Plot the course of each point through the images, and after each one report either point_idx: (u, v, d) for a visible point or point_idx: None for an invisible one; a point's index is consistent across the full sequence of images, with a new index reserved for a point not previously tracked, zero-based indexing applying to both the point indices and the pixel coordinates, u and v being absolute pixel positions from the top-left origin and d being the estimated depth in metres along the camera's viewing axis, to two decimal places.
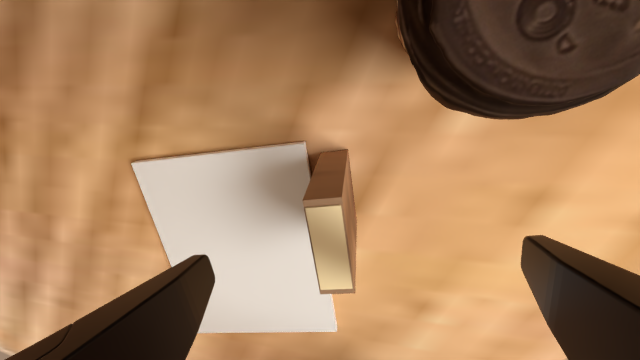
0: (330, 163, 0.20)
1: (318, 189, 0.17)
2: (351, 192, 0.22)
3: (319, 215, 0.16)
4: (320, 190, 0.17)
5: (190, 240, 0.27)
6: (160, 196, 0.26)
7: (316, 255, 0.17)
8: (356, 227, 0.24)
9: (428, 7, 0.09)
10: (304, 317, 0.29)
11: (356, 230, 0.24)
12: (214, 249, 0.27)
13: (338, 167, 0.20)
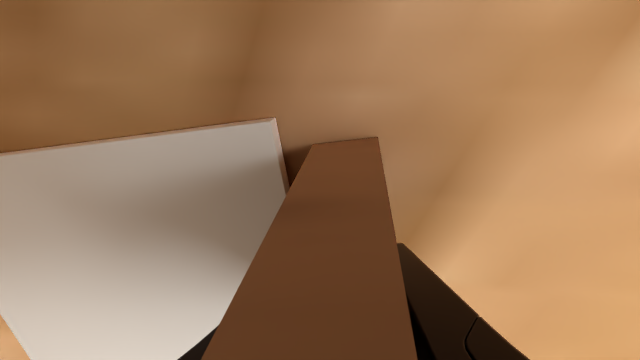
0: (337, 173, 0.07)
1: (284, 310, 0.03)
2: None
3: None
4: (294, 319, 0.03)
5: (55, 320, 0.14)
6: None
7: None
8: None
9: None
10: None
11: None
12: (103, 338, 0.14)
13: (362, 186, 0.06)
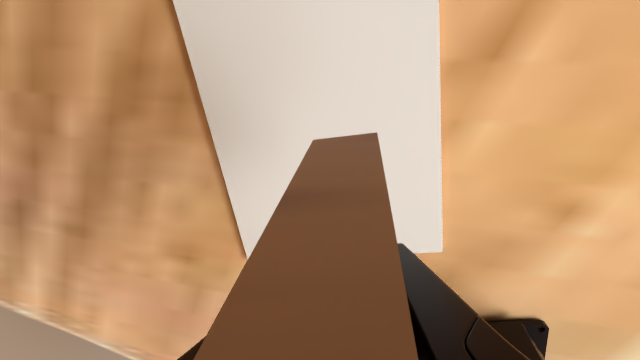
0: (337, 166, 0.07)
1: (286, 291, 0.04)
2: None
3: None
4: (296, 297, 0.03)
5: (248, 118, 0.19)
6: (210, 46, 0.18)
7: None
8: None
9: None
10: (399, 231, 0.21)
11: None
12: (281, 130, 0.19)
13: (362, 177, 0.06)
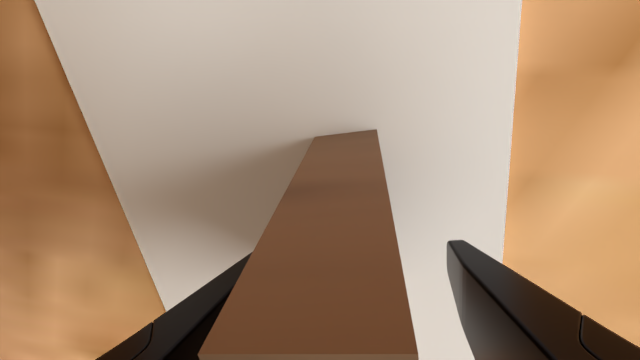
0: (339, 161, 0.08)
1: (293, 271, 0.04)
2: None
3: None
4: (302, 276, 0.04)
5: (171, 164, 0.11)
6: (93, 41, 0.10)
7: None
8: None
9: None
10: (425, 343, 0.13)
11: None
12: (229, 186, 0.11)
13: (362, 171, 0.07)
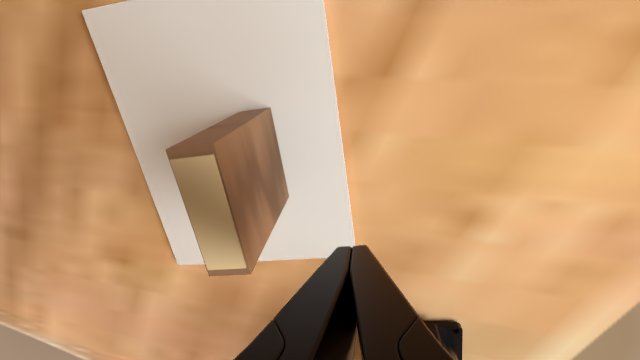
0: (238, 118, 0.17)
1: (196, 139, 0.13)
2: (272, 157, 0.19)
3: (188, 169, 0.12)
4: (197, 139, 0.13)
5: (164, 128, 0.20)
6: (122, 61, 0.19)
7: (195, 224, 0.13)
8: (285, 202, 0.20)
9: None
10: (314, 236, 0.22)
11: (284, 205, 0.20)
12: None
13: (243, 120, 0.16)
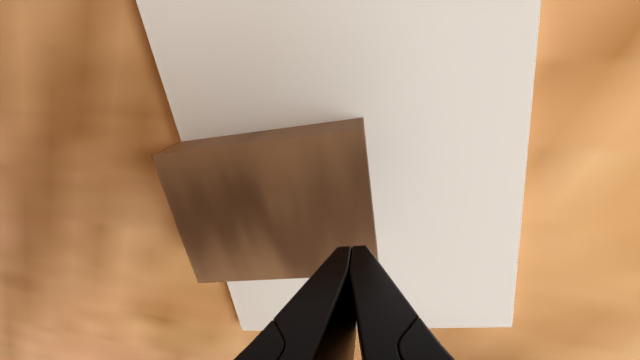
0: (289, 132, 0.12)
1: (196, 142, 0.13)
2: (326, 204, 0.12)
3: None
4: (191, 144, 0.13)
5: None
6: (184, 38, 0.12)
7: None
8: None
9: None
10: (452, 299, 0.15)
11: None
12: None
13: (265, 138, 0.12)
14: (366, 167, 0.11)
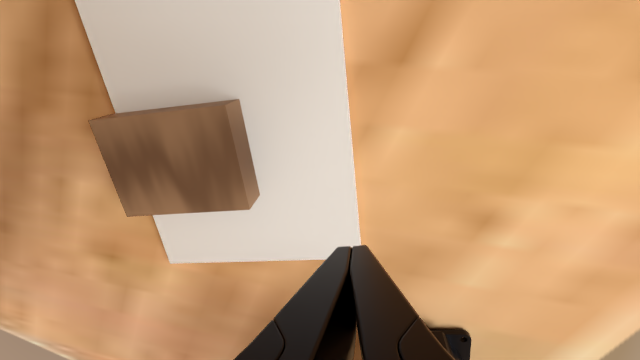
0: (185, 107, 0.17)
1: (123, 113, 0.18)
2: (208, 157, 0.17)
3: None
4: (119, 114, 0.18)
5: None
6: (113, 39, 0.17)
7: None
8: (231, 209, 0.18)
9: None
10: (317, 236, 0.21)
11: (226, 210, 0.18)
12: None
13: (165, 110, 0.17)
14: (230, 131, 0.16)
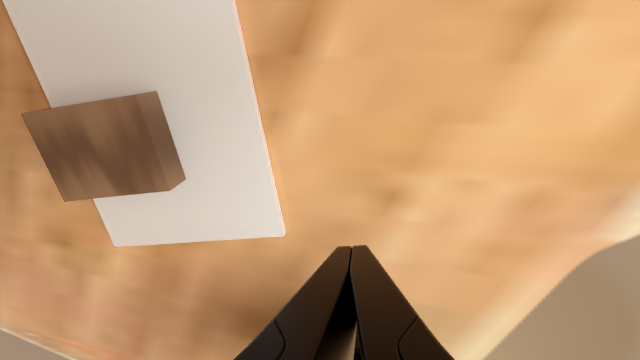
0: (106, 99, 0.19)
1: (55, 107, 0.20)
2: (128, 143, 0.19)
3: None
4: None
5: None
6: (42, 41, 0.19)
7: None
8: (154, 191, 0.20)
9: None
10: (242, 216, 0.22)
11: (150, 192, 0.20)
12: None
13: (88, 102, 0.19)
14: (143, 119, 0.18)
